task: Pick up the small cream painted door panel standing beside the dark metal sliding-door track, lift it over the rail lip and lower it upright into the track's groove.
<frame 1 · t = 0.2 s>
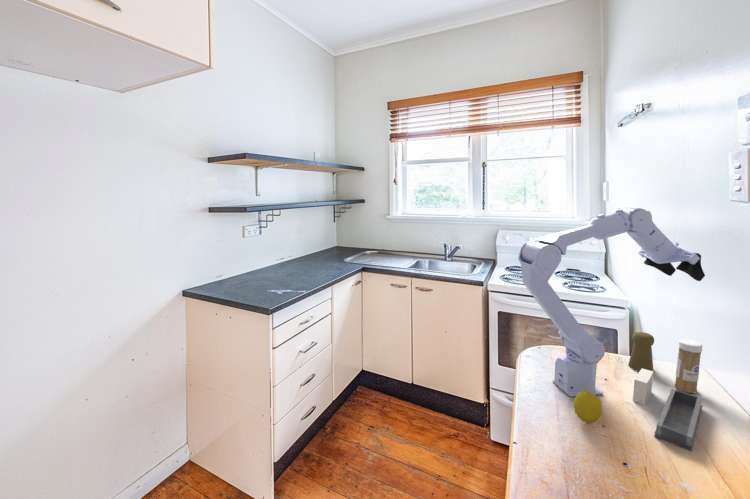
hand: (686, 275, 89), 31 cm above the table, tool tilted 45°, fingers open, 7 cm apart
door track: (679, 422, 77), on the table
lemon: (586, 423, 78), on the table
door panel: (642, 396, 87), on the table
sprinkles bottle: (685, 389, 90), on the table
cork: (640, 368, 101), on the table
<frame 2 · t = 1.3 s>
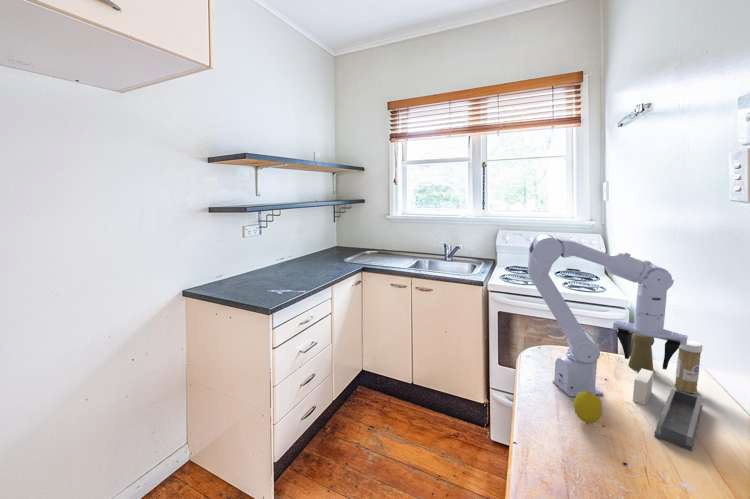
hand: (645, 362, 86), 9 cm above the table, tool pointing down, fingers open, 7 cm apart
nothing on the table moved.
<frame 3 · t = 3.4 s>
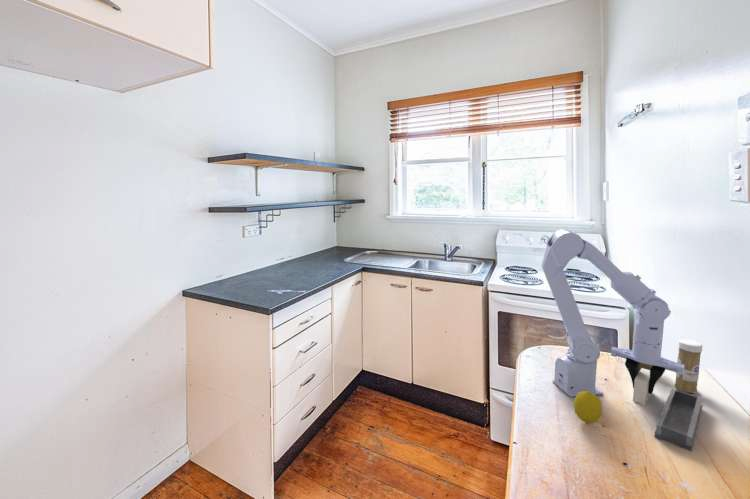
hand: (642, 389, 87), 2 cm above the table, tool pointing down, fingers closed on door panel, 2 cm apart
door panel: (642, 396, 87), on the table, touching gripper
everything else where it was.
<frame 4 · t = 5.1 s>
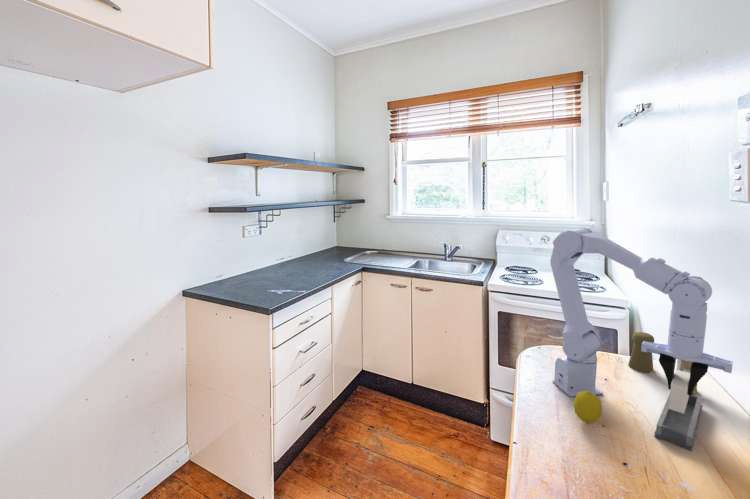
hand: (680, 390, 74), 9 cm above the table, tool pointing down, fingers closed on door panel, 2 cm apart
door panel: (678, 403, 75), point 6 cm above the table, touching gripper
everything else where it was.
when the fingers open (4 cm above the table, at t = 7.0 s): door panel stays where it is, resting on door track.
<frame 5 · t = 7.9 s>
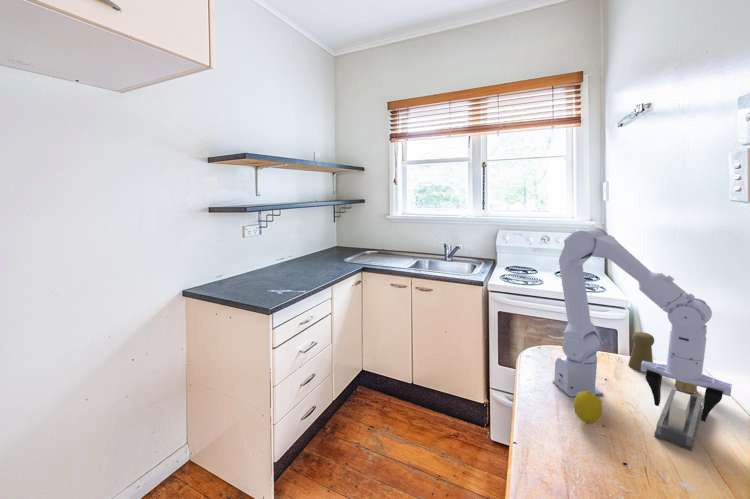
hand: (679, 411, 74), 4 cm above the table, tool pointing down, fingers open, 7 cm apart
door panel: (677, 424, 75), point 1 cm above the table, touching door track
everything else where it was.
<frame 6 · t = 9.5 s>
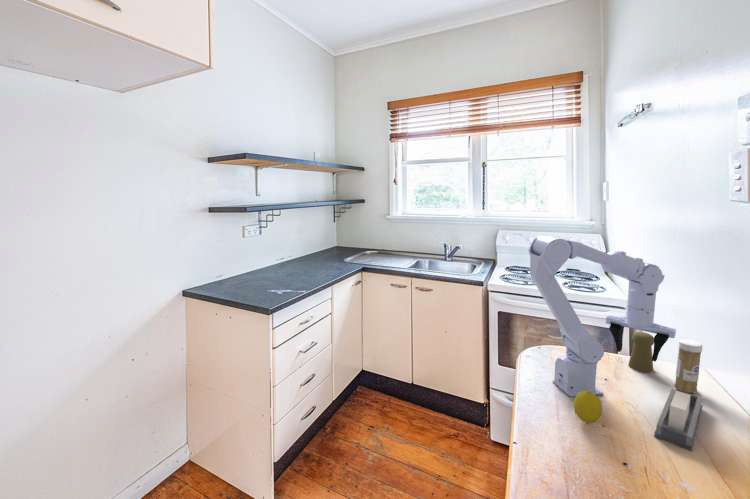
hand: (636, 355, 90), 9 cm above the table, tool pointing down, fingers open, 7 cm apart
nothing on the table moved.
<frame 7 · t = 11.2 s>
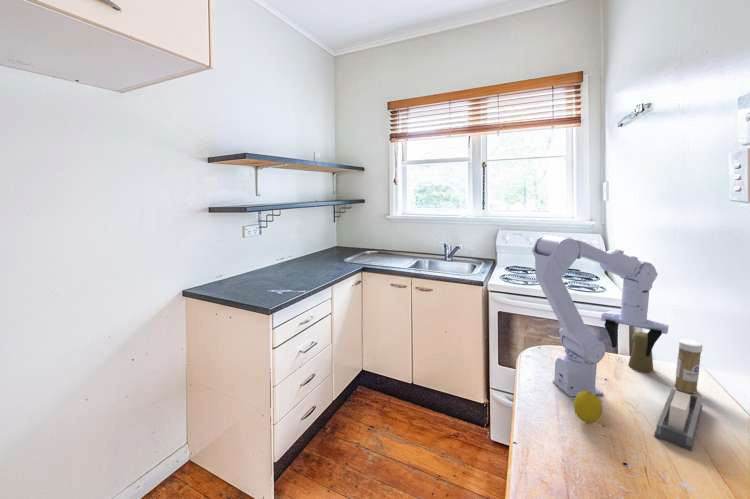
hand: (630, 350, 93), 9 cm above the table, tool pointing down, fingers open, 7 cm apart
nothing on the table moved.
at the end: door panel 0.3 cm from the target spot on the door track, point 1.0 cm above the door track's base; door panel tilted 0°; the gripper is holding nothing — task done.
